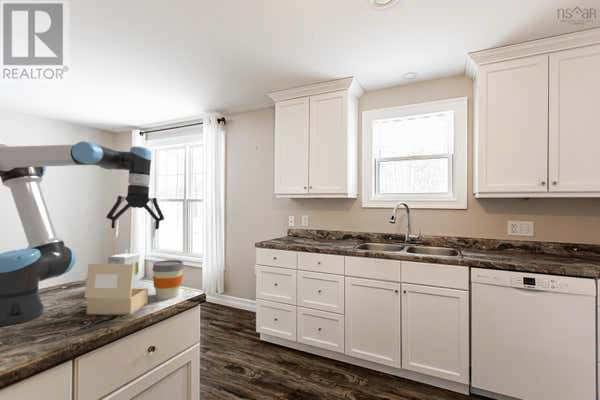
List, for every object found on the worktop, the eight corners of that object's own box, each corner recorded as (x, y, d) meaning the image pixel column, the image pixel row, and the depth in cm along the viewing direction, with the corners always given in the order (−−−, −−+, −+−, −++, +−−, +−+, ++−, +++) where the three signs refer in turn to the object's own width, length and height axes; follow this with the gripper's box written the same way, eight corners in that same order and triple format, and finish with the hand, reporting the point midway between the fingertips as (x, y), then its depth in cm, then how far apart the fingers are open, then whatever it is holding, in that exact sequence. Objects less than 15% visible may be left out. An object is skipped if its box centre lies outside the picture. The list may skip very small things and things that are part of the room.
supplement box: (122, 294, 123) (123, 257, 124) (105, 293, 125) (106, 256, 126) (139, 288, 133) (140, 253, 133) (122, 287, 134) (124, 252, 135)
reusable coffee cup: (162, 291, 129) (163, 259, 130) (187, 292, 128) (188, 260, 128) (145, 300, 117) (146, 265, 117) (172, 301, 116) (174, 266, 116)
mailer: (86, 314, 101) (87, 297, 101) (108, 302, 113) (109, 288, 113) (130, 314, 101) (131, 298, 102) (147, 303, 113) (148, 288, 114)
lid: (85, 297, 101) (84, 297, 100) (89, 263, 102) (88, 263, 102) (130, 298, 101) (129, 298, 100) (133, 264, 103) (133, 264, 102)
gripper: (99, 182, 104) (95, 237, 104) (171, 187, 113) (168, 238, 113) (105, 183, 111) (101, 235, 111) (172, 187, 120) (169, 236, 120)
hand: (135, 237), depth 112 cm, fingers open, 13 cm apart
